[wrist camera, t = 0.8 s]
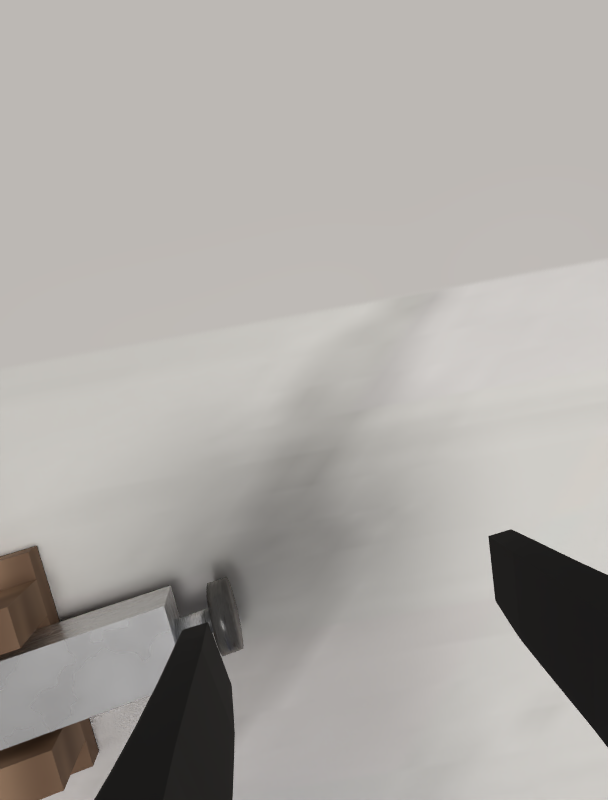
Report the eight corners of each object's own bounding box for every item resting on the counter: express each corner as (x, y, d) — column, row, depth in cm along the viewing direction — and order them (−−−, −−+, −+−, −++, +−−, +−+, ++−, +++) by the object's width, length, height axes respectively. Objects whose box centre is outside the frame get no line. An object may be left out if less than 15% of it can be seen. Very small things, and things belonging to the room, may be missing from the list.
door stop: (224, 563, 25) (223, 591, 21) (243, 629, 25) (245, 667, 21) (-62, 657, 22) (-117, 706, 19) (-39, 729, 23) (-89, 791, 19)
